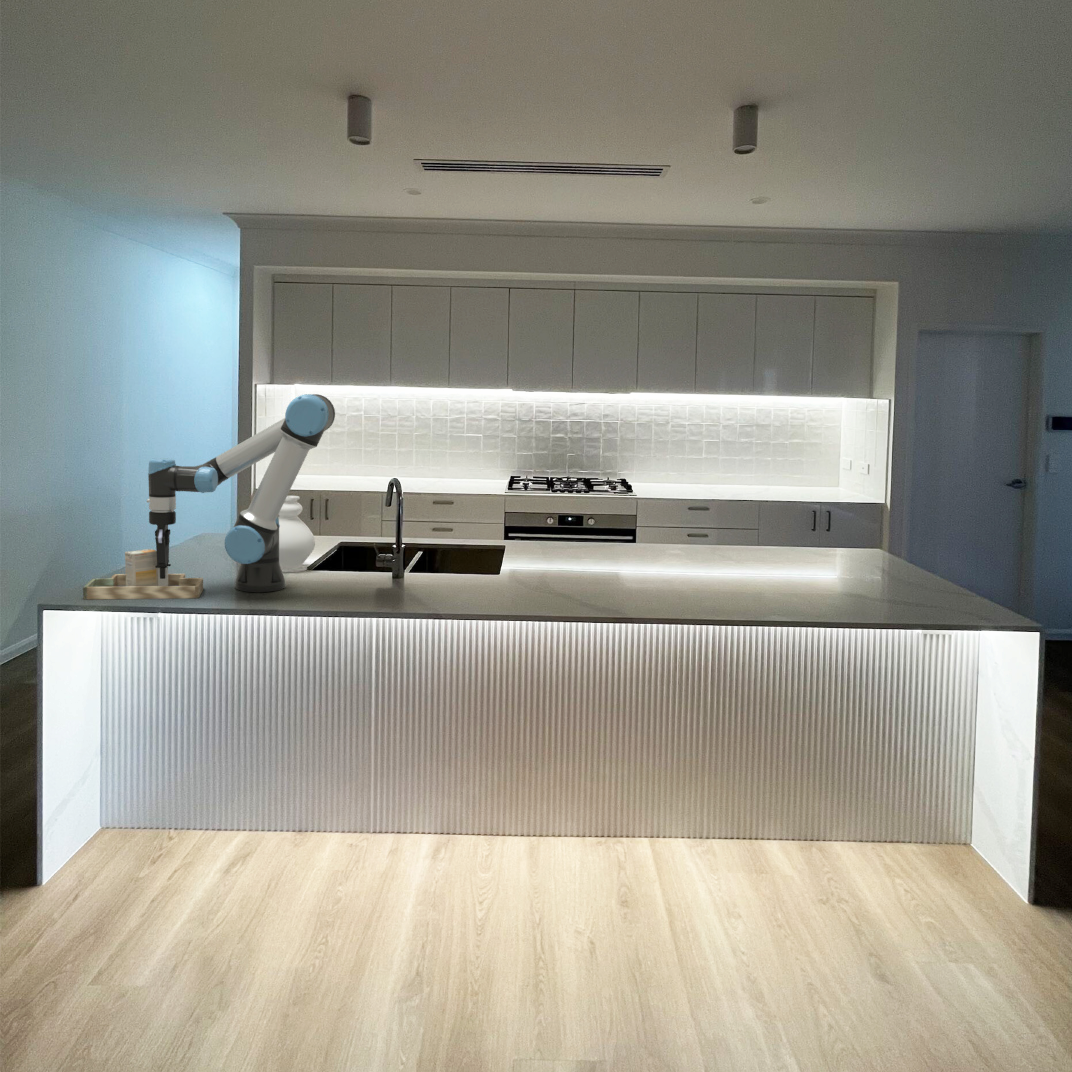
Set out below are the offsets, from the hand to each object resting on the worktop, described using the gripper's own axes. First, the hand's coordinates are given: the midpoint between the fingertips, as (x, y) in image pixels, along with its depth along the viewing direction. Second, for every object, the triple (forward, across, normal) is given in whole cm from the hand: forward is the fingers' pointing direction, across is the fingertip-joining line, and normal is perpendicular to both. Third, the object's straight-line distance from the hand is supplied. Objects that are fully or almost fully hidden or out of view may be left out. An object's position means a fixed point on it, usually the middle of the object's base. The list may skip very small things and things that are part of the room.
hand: (163, 588), depth 323 cm
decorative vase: (+2, -41, +36) cm, 54 cm away
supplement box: (+2, 0, -6) cm, 6 cm away
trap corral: (+2, -3, -5) cm, 6 cm away
